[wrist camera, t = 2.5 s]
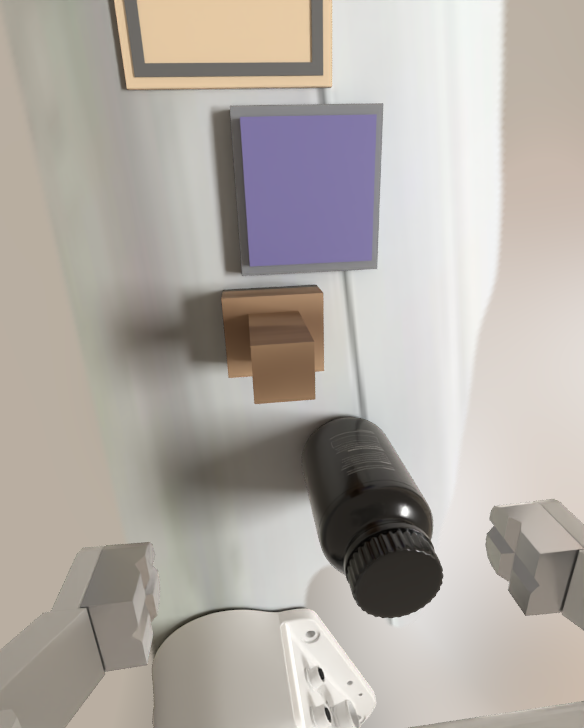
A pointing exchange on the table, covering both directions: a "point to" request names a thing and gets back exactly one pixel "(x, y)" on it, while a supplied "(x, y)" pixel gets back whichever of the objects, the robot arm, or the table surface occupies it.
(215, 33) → the marked card
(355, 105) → the ink pad
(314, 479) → the supplement bottle
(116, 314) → the table surface
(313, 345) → the stamp
